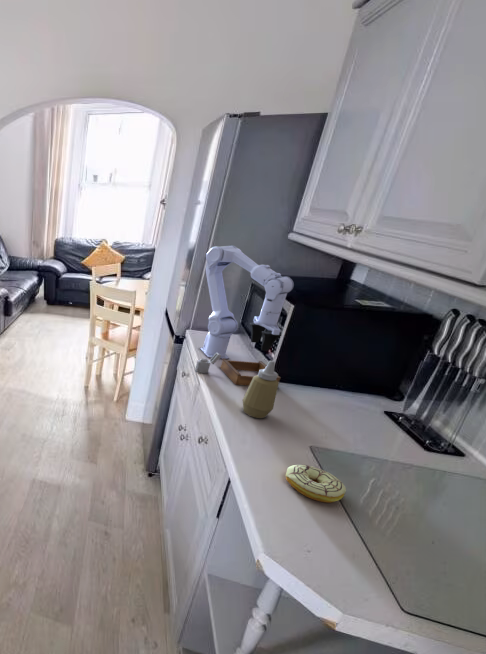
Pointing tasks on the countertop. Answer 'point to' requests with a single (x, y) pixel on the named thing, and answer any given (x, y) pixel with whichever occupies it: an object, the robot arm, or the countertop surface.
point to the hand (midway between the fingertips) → (259, 346)
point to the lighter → (206, 363)
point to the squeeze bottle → (261, 392)
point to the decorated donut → (315, 483)
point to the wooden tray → (233, 366)
